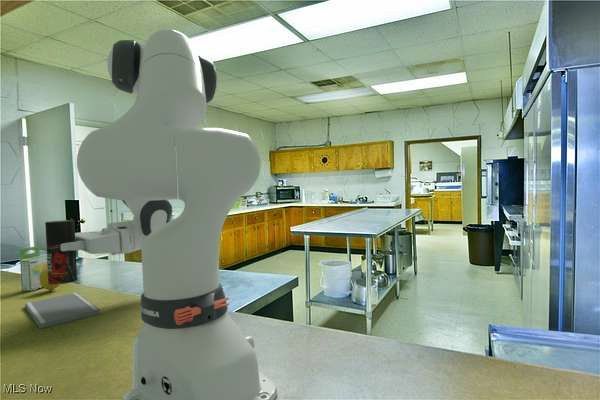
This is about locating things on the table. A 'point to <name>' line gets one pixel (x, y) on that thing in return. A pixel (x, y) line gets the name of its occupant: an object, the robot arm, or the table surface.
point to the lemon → (46, 280)
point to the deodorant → (60, 252)
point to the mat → (60, 309)
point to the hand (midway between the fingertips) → (56, 245)
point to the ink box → (31, 268)
